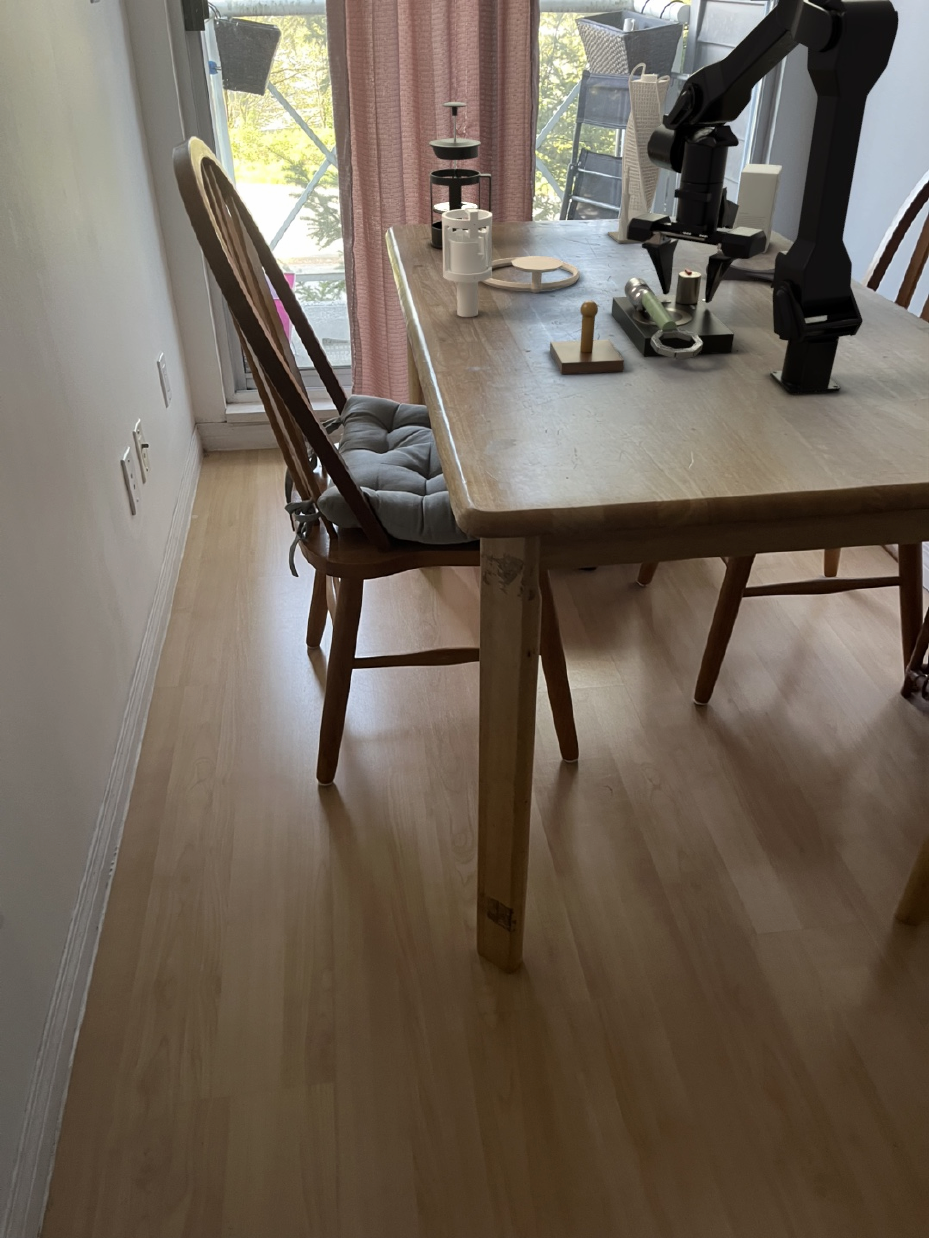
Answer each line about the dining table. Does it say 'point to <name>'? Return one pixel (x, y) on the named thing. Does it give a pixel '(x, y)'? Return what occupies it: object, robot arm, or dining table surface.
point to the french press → (454, 176)
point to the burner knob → (688, 287)
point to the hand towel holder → (534, 273)
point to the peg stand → (586, 349)
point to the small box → (758, 197)
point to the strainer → (467, 254)
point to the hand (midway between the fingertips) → (686, 298)
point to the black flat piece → (747, 274)
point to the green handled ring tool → (660, 321)
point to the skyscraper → (640, 149)
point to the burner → (676, 314)
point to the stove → (701, 324)
